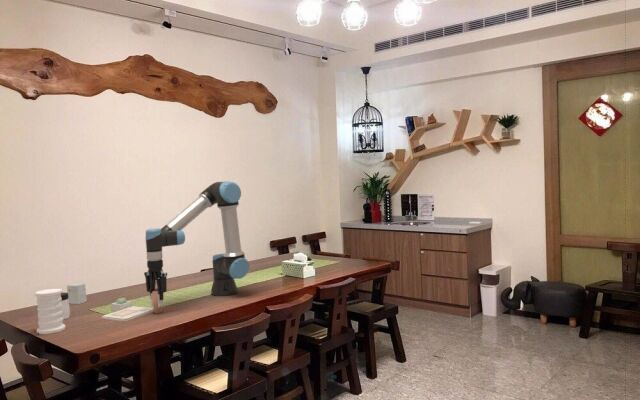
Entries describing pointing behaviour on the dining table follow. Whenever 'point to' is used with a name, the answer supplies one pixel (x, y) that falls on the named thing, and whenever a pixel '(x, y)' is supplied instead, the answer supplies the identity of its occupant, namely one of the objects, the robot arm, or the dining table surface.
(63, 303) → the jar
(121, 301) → the button
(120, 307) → the button housing
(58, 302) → the decorative container
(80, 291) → the small box
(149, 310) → the board
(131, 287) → the dining table surface
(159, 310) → the marker
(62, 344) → the dining table surface
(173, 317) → the dining table surface
